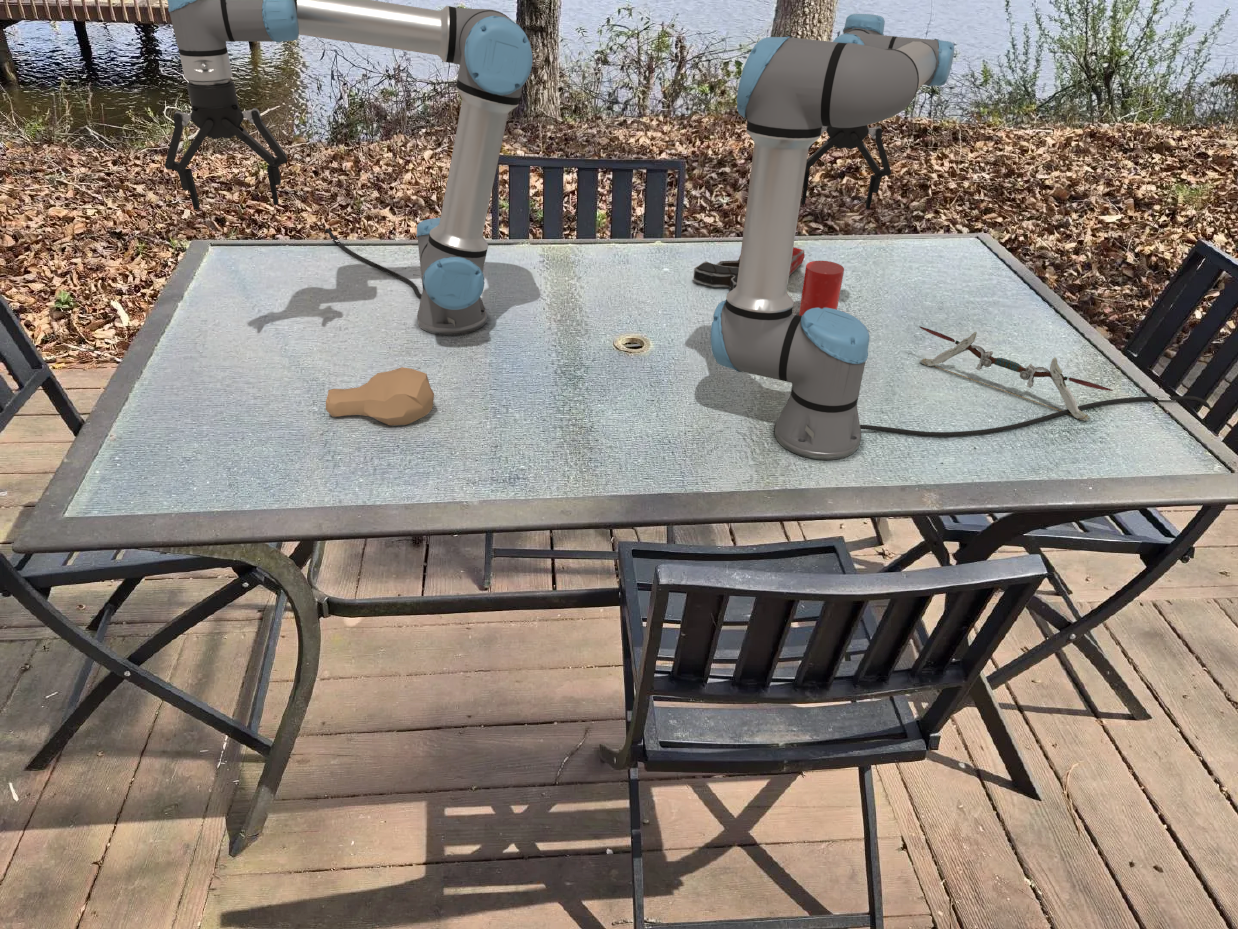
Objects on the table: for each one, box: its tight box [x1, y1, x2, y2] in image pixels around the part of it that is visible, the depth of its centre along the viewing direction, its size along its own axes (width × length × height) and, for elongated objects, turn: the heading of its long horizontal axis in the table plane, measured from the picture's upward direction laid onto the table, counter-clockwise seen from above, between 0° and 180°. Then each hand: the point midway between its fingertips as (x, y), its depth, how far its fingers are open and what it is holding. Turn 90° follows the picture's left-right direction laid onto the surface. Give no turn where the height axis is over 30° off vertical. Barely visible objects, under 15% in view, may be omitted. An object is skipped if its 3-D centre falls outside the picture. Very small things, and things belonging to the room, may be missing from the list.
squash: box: [325, 366, 435, 427], centre depth 160 cm, size 11×20×9 cm, turn 90°
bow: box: [918, 325, 1114, 422], centre depth 173 cm, size 39×2×10 cm, turn 47°
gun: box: [692, 246, 806, 292], centre depth 223 cm, size 4×31×19 cm
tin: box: [798, 260, 845, 316], centre depth 200 cm, size 8×8×12 cm
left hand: (237, 205), depth 160 cm, fingers open, 13 cm apart
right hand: (835, 204), depth 189 cm, fingers open, 13 cm apart
